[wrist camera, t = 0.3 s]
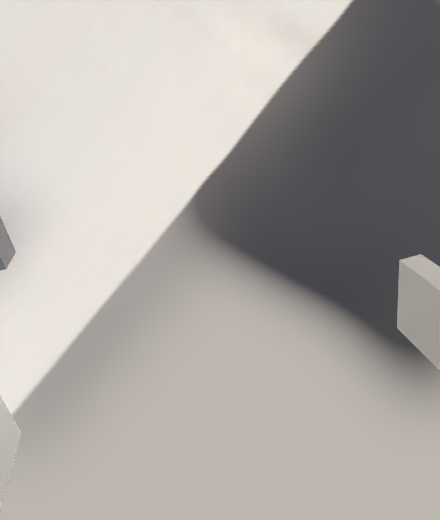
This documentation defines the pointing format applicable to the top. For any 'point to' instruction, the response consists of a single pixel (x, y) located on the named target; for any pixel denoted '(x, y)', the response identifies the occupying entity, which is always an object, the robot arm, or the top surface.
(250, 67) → the top surface
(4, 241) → the square frame with pillar
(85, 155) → the top surface
